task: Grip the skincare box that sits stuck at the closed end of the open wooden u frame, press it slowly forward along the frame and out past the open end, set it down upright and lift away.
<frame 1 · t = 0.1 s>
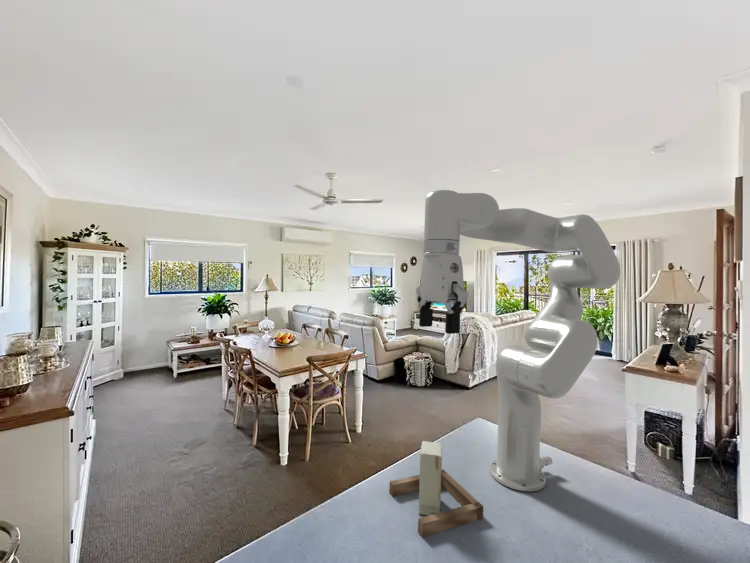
hand: (438, 329, 74), 37 cm above the counter, tool pointing down, fingers open, 9 cm apart
open wooden u frame: (433, 505, 72), on the counter
skincare box: (429, 507, 72), on the counter
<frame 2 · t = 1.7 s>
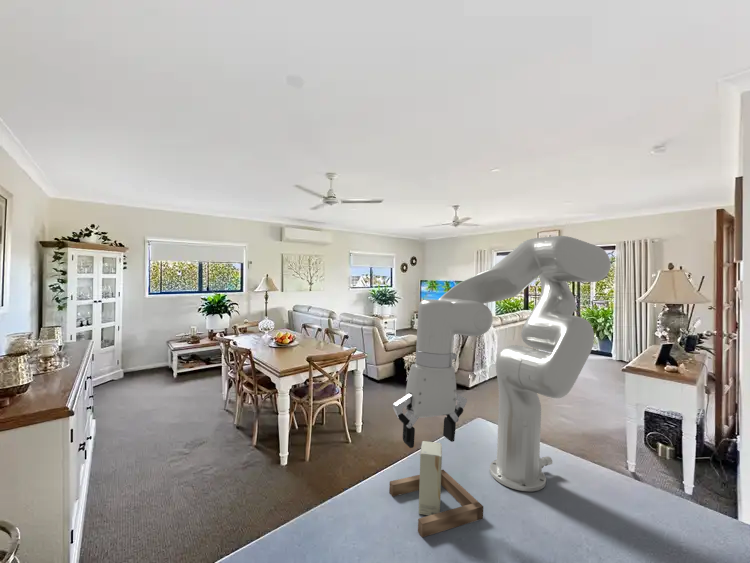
hand: (429, 441, 71), 14 cm above the counter, tool pointing down, fingers open, 9 cm apart
nothing on the counter moved.
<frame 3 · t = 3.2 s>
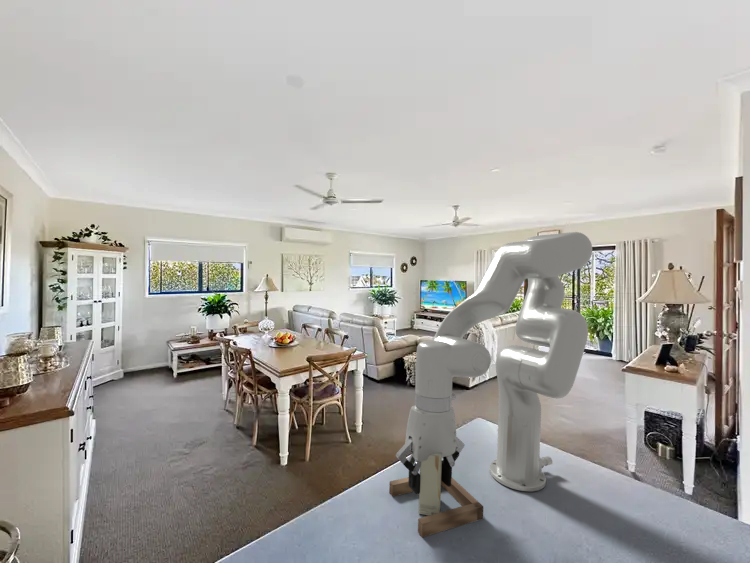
hand: (430, 485, 72), 4 cm above the counter, tool pointing down, fingers closed on skincare box, 6 cm apart
skincare box: (429, 507, 72), on the counter, touching gripper
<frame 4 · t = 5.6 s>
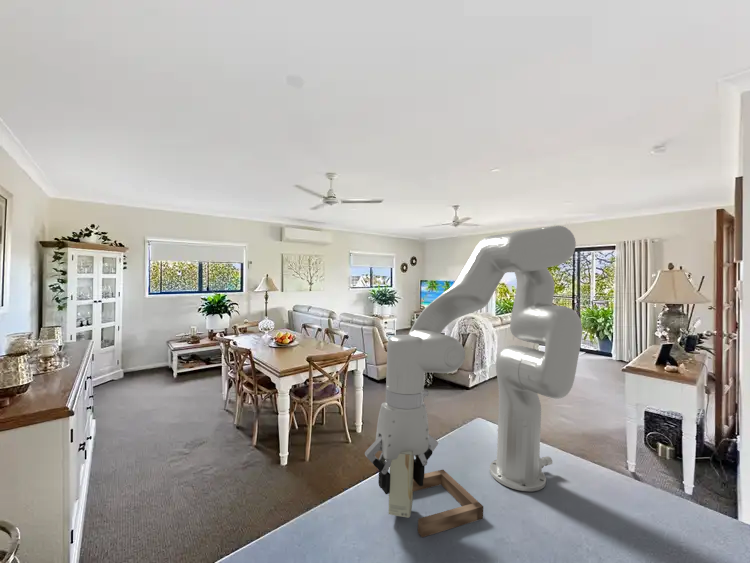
hand: (401, 485, 69), 6 cm above the counter, tool pointing down, fingers closed on skincare box, 6 cm apart
skincare box: (400, 507, 69), point 1 cm above the counter, touching gripper
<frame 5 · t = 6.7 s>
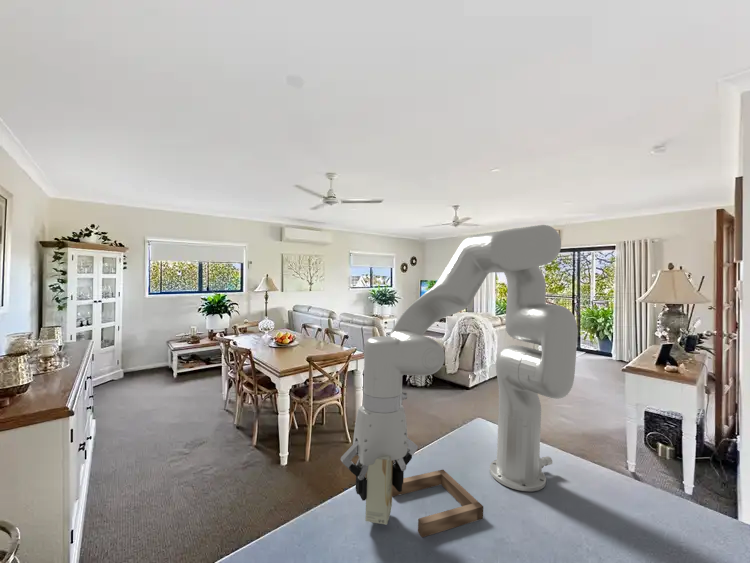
hand: (379, 491, 67), 6 cm above the counter, tool pointing down, fingers closed on skincare box, 6 cm apart
skincare box: (379, 513, 67), point 1 cm above the counter, touching gripper
when the fingers open (4 cm above the counter, at t = 8.0 s): skincare box stays where it is, on the counter.
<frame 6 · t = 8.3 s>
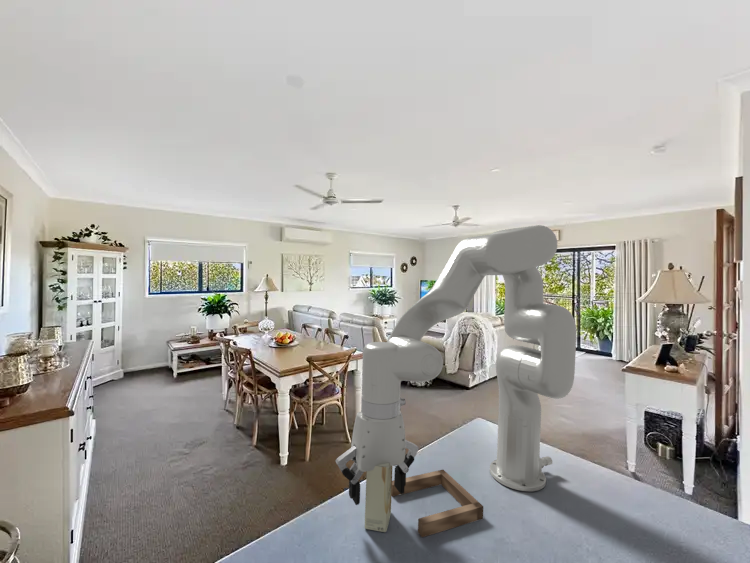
hand: (377, 494, 67), 5 cm above the counter, tool pointing down, fingers open, 9 cm apart
skincare box: (378, 521, 67), on the counter
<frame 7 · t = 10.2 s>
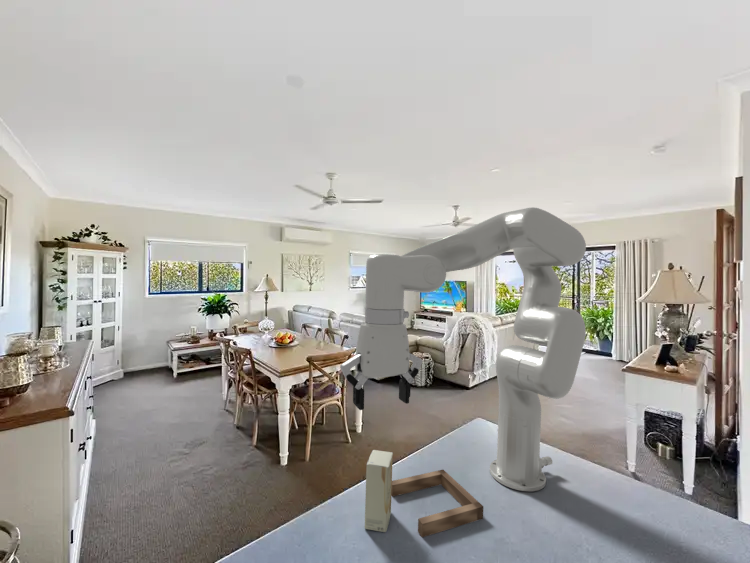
hand: (382, 404, 68), 22 cm above the counter, tool pointing down, fingers open, 9 cm apart
nothing on the counter moved.
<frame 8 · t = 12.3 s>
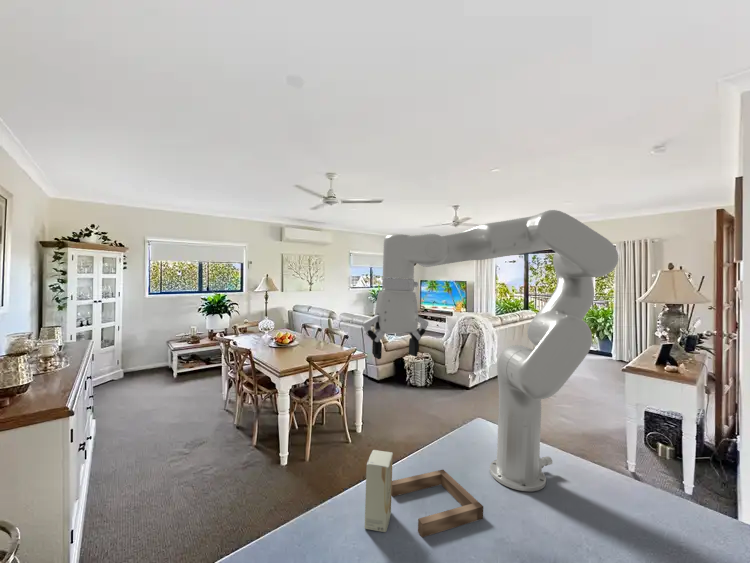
hand: (395, 356, 84), 28 cm above the counter, tool pointing down, fingers open, 9 cm apart
nothing on the counter moved.
at the end: skincare box inside the target area (0.8 cm from its centre), on the counter; skincare box tilted 0°; the gripper is holding nothing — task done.
